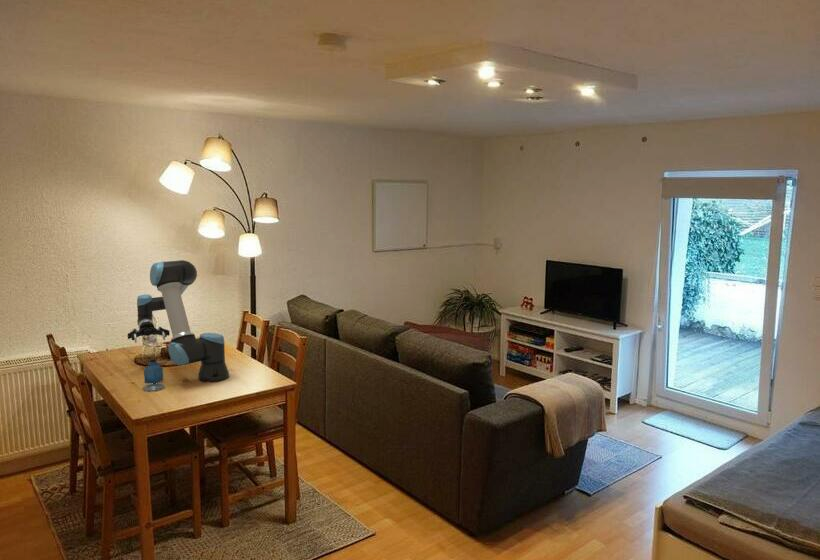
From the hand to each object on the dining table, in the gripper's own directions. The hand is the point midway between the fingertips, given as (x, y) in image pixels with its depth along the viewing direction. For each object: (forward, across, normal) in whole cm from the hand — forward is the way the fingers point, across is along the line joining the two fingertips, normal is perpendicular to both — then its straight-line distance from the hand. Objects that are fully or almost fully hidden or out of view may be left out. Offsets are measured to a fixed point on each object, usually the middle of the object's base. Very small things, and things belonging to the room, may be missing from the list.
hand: (150, 339), depth 303 cm
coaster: (+21, +1, -19) cm, 28 cm away
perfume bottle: (+10, 0, -20) cm, 22 cm away
